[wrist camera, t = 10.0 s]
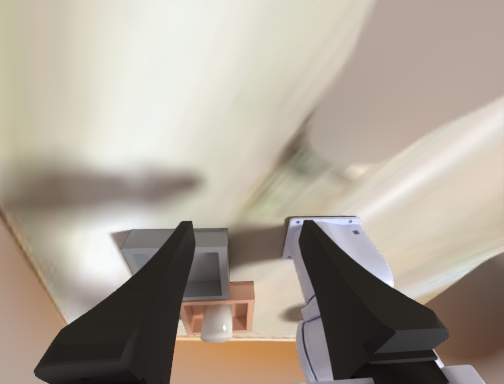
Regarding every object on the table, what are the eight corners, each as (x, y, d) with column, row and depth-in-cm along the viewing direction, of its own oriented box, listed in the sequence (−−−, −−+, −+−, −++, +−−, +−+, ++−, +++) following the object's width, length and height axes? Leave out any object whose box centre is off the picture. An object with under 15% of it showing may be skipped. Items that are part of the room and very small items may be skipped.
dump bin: (253, 281, 33) (254, 299, 30) (250, 314, 39) (251, 331, 37) (180, 283, 32) (175, 302, 29) (190, 317, 38) (187, 335, 36)
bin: (227, 228, 25) (226, 246, 23) (229, 280, 32) (228, 298, 29) (132, 229, 24) (120, 248, 22) (154, 283, 31) (147, 302, 29)
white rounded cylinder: (228, 295, 33) (227, 329, 29) (235, 308, 36) (235, 340, 32) (200, 300, 33) (195, 334, 29) (209, 312, 36) (206, 344, 32)
